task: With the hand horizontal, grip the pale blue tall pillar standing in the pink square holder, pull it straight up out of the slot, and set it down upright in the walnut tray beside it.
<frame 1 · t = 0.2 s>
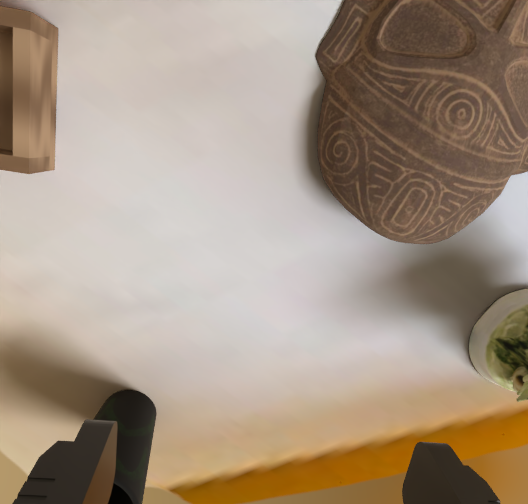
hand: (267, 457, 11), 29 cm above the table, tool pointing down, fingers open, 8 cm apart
decorative mask: (447, 75, 36), on the table
cup: (130, 411, 43), on the table
figurine: (519, 337, 43), on the table
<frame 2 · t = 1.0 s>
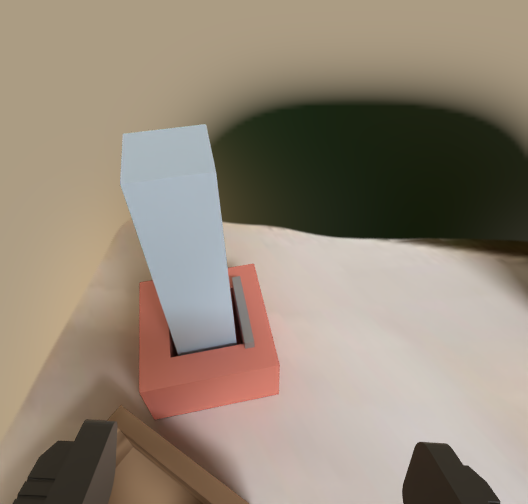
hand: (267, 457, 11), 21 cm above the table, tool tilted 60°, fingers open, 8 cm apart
pink square holder: (210, 351, 36), on the table
pale blue tall pillar: (209, 348, 35), resting on pink square holder
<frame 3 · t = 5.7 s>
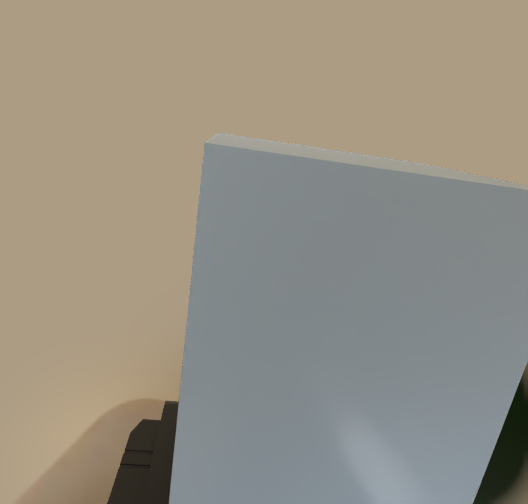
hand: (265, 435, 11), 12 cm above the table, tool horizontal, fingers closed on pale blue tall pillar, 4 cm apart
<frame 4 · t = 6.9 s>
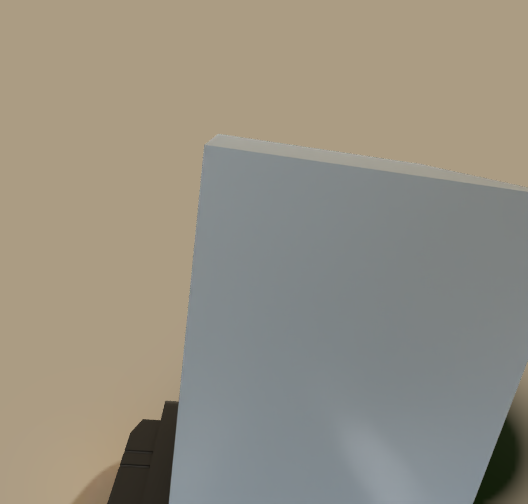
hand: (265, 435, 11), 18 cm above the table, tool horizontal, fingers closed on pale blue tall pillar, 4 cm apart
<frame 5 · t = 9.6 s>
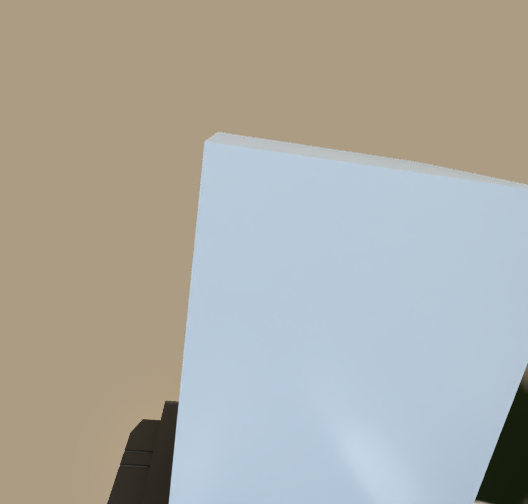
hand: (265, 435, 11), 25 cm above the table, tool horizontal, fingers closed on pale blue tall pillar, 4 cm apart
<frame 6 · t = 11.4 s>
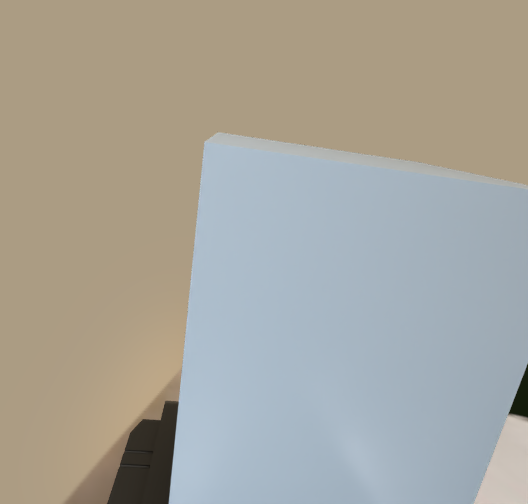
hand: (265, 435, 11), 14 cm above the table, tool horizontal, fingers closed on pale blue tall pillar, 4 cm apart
when the fingers open (14 cm above the table, at t = 11.8 s): pale blue tall pillar stays where it is, resting on tray.
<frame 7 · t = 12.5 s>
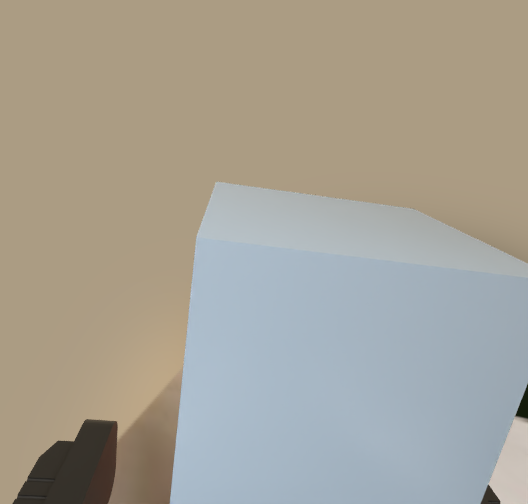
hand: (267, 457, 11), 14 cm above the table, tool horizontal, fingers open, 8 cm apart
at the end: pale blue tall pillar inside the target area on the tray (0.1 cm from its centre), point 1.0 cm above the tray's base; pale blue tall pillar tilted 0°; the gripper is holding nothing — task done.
